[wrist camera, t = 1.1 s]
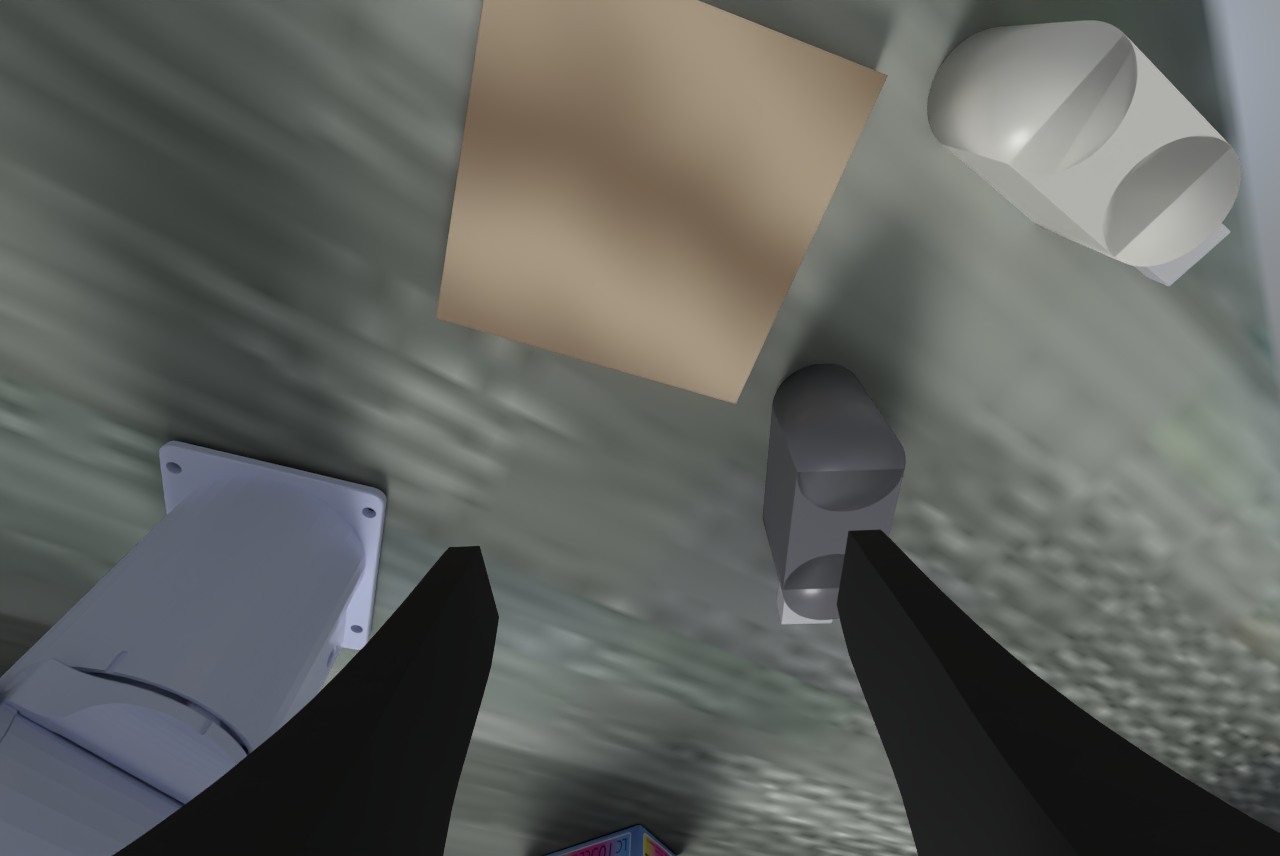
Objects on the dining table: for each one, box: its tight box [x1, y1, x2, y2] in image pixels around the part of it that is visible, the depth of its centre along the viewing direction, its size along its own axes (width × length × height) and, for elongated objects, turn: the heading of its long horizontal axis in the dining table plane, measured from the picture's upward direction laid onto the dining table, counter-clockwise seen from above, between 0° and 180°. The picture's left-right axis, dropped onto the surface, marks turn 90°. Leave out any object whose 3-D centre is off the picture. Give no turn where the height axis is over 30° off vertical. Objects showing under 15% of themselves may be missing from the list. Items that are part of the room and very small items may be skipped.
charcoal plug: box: [763, 364, 905, 624], centre depth 22 cm, size 10×3×4 cm, turn 2°
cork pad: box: [436, 0, 888, 404], centre depth 17 cm, size 10×10×1 cm
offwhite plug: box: [927, 20, 1241, 286], centre depth 16 cm, size 9×3×4 cm, turn 57°
